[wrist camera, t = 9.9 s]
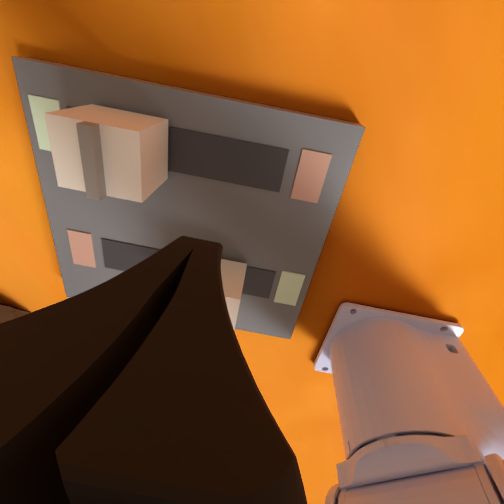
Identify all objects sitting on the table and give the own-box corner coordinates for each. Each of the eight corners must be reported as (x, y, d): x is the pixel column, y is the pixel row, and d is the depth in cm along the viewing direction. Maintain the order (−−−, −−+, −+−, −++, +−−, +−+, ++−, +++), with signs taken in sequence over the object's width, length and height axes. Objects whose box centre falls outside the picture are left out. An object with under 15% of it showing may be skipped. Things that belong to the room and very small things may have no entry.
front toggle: (168, 119, 15) (133, 134, 12) (167, 178, 17) (136, 207, 13) (91, 104, 15) (33, 114, 12) (98, 165, 17) (49, 191, 13)
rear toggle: (247, 263, 20) (239, 307, 16) (240, 299, 21) (231, 345, 18) (187, 252, 19) (166, 293, 16) (185, 289, 21) (166, 333, 18)
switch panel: (360, 123, 16) (365, 127, 15) (290, 328, 24) (290, 340, 23) (29, 57, 16) (9, 56, 14) (75, 287, 24) (65, 297, 23)
